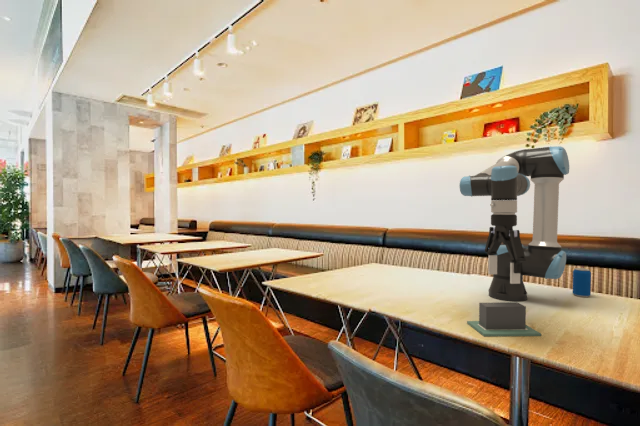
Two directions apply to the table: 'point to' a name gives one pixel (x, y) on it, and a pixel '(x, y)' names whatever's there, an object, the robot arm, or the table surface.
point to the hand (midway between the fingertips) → (503, 278)
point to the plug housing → (502, 315)
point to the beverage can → (581, 282)
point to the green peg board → (503, 331)
